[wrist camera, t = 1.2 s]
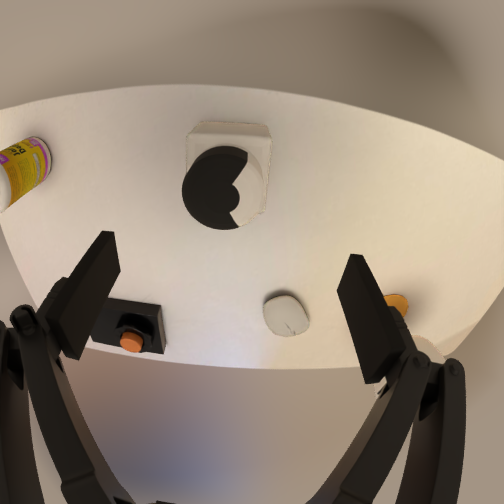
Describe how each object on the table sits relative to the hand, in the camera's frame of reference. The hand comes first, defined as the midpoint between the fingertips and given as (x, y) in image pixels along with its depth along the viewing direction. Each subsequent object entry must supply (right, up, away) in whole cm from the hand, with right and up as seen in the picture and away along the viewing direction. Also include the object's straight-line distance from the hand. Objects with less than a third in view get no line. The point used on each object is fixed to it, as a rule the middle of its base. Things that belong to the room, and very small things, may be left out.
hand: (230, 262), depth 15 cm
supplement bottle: (-28, +13, +13) cm, 33 cm away
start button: (-18, -13, +26) cm, 35 cm away
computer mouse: (+6, -8, +28) cm, 30 cm away
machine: (-20, -11, +29) cm, 37 cm away
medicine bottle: (-1, +11, +14) cm, 18 cm away
